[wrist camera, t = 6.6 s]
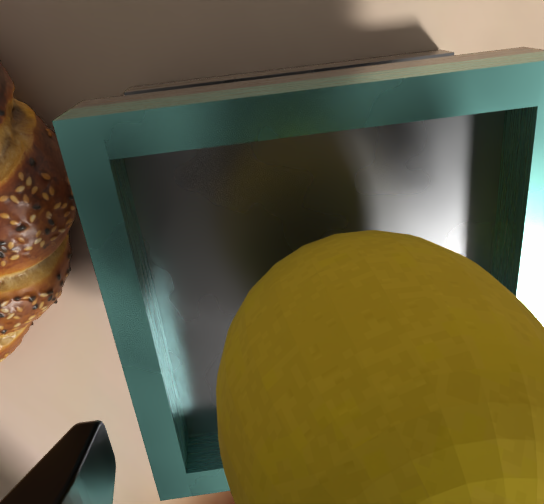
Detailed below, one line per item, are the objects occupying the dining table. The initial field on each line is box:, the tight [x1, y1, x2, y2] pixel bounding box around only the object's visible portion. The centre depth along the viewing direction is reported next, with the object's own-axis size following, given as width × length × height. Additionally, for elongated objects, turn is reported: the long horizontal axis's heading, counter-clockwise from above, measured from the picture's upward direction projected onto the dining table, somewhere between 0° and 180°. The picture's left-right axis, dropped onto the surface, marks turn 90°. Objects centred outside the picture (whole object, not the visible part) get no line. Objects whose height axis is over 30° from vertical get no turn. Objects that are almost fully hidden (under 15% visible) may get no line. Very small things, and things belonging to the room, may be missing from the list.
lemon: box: [216, 230, 544, 504], centre depth 9 cm, size 6×6×8 cm
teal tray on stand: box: [52, 47, 544, 501], centre depth 14 cm, size 10×10×6 cm
